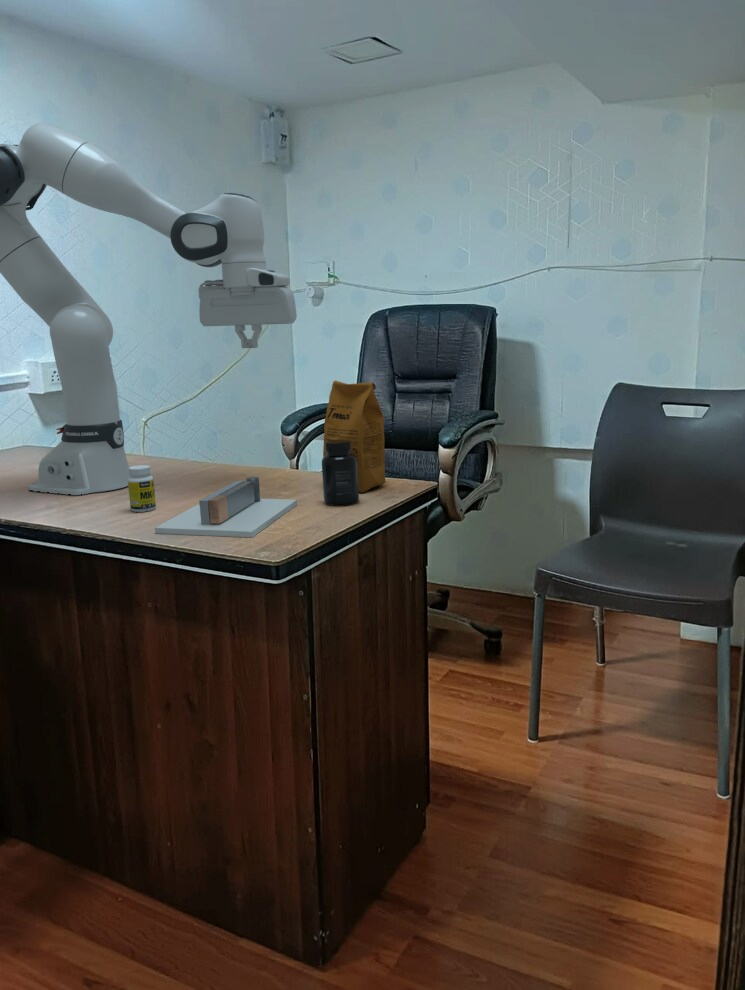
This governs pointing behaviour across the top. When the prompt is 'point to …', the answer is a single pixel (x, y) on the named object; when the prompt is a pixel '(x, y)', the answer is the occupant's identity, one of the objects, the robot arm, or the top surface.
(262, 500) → the board
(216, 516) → the tongs jaw
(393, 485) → the top surface
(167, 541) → the top surface
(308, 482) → the top surface
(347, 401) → the coffee package
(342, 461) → the supplement bottle
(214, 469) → the top surface
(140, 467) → the supplement bottle
